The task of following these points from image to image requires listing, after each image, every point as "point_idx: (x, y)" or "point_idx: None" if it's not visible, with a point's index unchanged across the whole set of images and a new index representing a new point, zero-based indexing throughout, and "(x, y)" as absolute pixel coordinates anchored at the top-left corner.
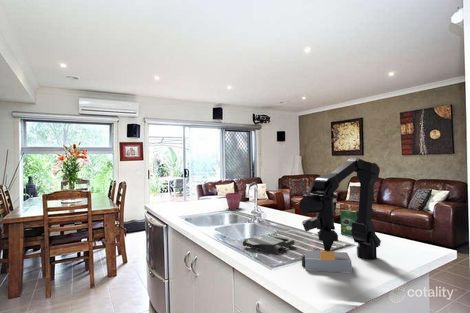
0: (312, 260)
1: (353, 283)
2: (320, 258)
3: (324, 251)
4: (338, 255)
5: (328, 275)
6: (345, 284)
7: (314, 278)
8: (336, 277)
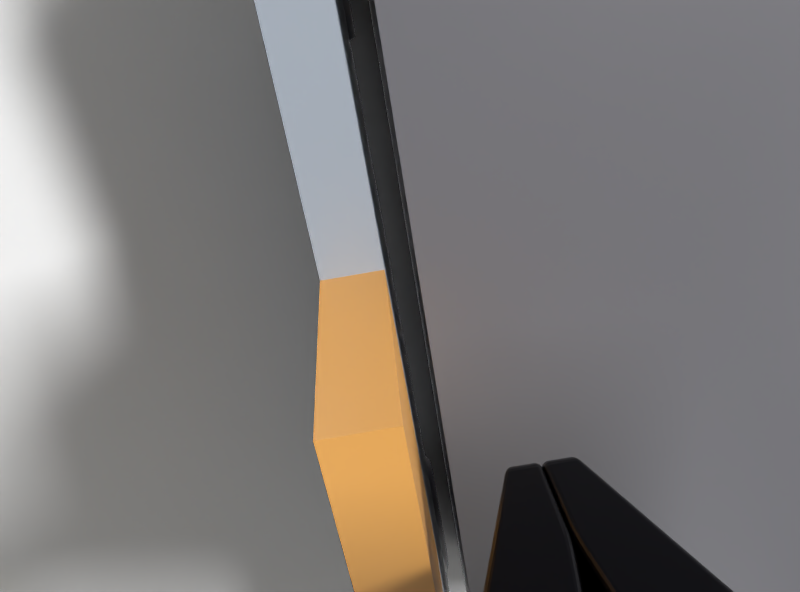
0: (267, 31)
1: (156, 577)
2: (341, 288)
3: (351, 554)
4: None
5: (285, 280)
6: (67, 506)
7: (17, 50)
8: (257, 393)
